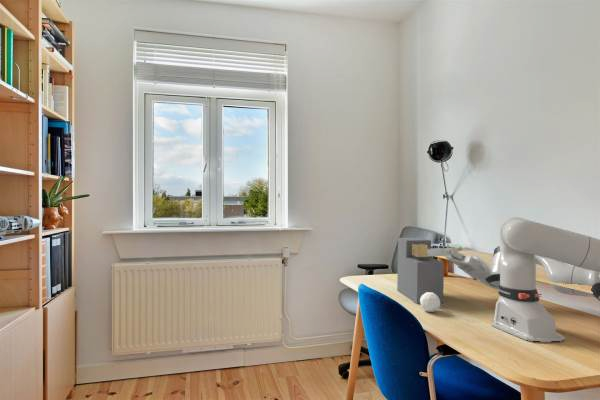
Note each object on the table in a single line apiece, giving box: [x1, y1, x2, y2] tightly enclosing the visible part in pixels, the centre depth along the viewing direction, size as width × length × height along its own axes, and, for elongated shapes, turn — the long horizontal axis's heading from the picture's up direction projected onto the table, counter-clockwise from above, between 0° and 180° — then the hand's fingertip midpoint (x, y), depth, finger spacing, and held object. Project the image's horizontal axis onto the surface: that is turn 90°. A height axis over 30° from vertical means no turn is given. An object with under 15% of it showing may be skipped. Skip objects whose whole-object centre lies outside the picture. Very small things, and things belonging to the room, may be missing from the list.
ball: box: [419, 292, 441, 313], centre depth 145 cm, size 8×8×8 cm
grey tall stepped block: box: [396, 237, 445, 305], centre depth 167 cm, size 22×12×26 cm, turn 7°
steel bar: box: [412, 244, 459, 257], centre depth 162 cm, size 5×20×5 cm, turn 96°
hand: (448, 251), depth 163 cm, fingers closed on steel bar, 3 cm apart
